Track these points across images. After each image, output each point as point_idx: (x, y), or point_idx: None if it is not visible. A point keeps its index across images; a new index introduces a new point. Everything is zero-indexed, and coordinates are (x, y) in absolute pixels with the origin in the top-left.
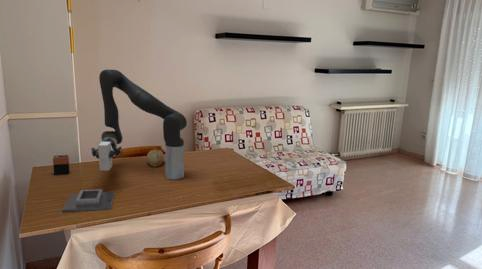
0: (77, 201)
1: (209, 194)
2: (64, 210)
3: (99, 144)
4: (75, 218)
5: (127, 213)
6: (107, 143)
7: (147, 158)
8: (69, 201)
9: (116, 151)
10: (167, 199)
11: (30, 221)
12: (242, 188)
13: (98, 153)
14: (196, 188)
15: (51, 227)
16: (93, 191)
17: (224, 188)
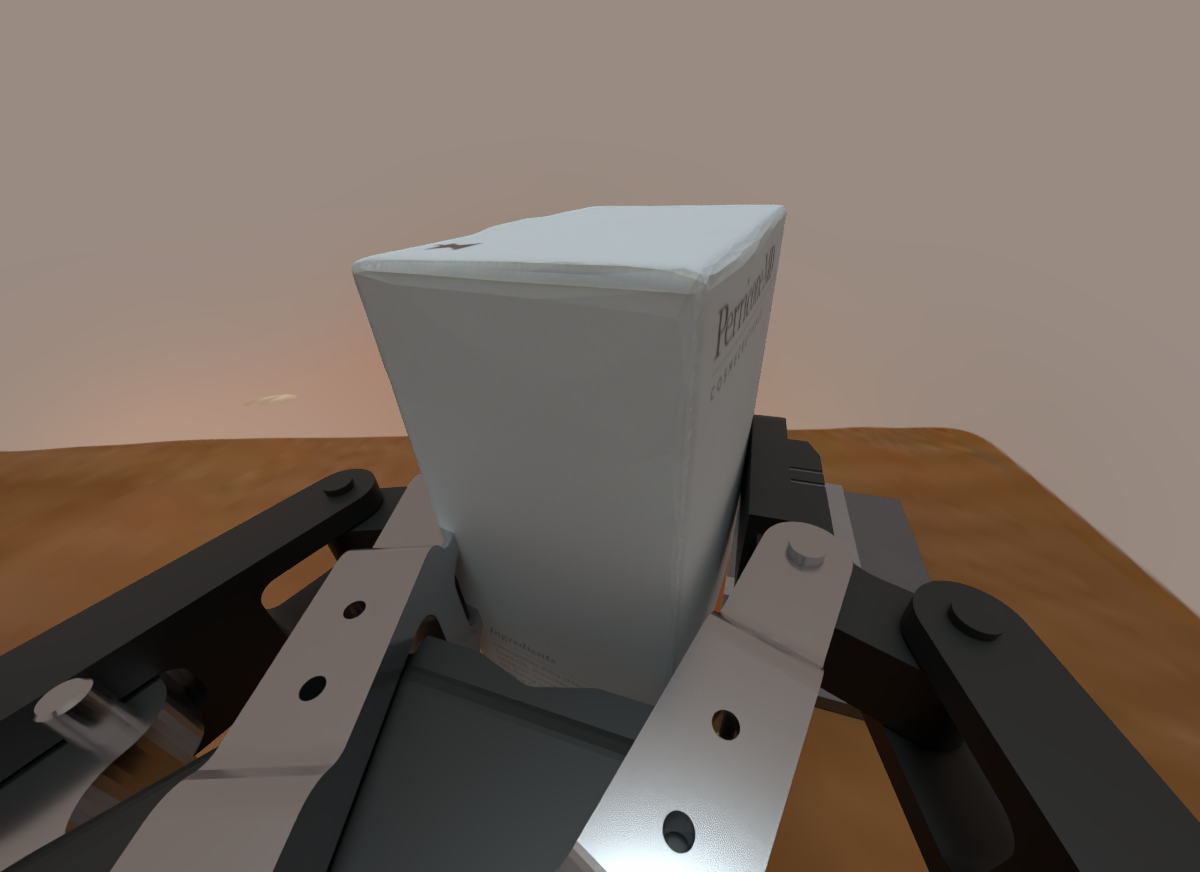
0: (830, 488)
1: (213, 468)
2: (884, 499)
3: (759, 208)
4: None
5: None
6: (546, 222)
7: None
8: (911, 583)
9: (375, 487)
10: (388, 480)
11: (1016, 480)
12: (49, 472)
13: (762, 432)
14: (154, 534)
15: (876, 428)
16: None
17: (85, 493)
